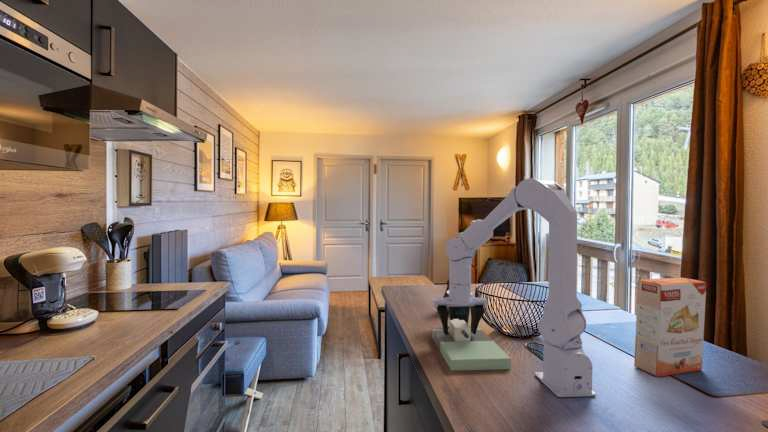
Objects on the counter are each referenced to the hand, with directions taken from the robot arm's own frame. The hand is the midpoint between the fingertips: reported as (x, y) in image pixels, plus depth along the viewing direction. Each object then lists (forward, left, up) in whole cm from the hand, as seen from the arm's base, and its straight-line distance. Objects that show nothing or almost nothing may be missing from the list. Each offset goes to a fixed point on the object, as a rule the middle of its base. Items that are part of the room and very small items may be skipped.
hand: (459, 333), depth 94 cm
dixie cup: (+14, -4, -4) cm, 15 cm away
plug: (-1, 0, -3) cm, 4 cm away
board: (-4, -1, -3) cm, 5 cm away
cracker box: (-16, -45, -4) cm, 48 cm away
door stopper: (+31, -7, -4) cm, 32 cm away
